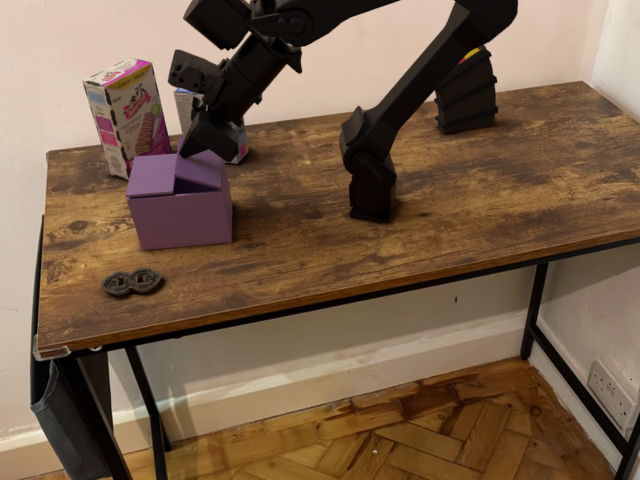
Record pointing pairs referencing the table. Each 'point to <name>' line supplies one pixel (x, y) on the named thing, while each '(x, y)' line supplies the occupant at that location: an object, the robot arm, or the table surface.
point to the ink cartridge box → (184, 113)
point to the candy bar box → (127, 114)
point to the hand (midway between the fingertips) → (181, 155)
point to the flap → (199, 167)
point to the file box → (176, 206)
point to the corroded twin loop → (132, 281)
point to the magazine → (468, 94)
